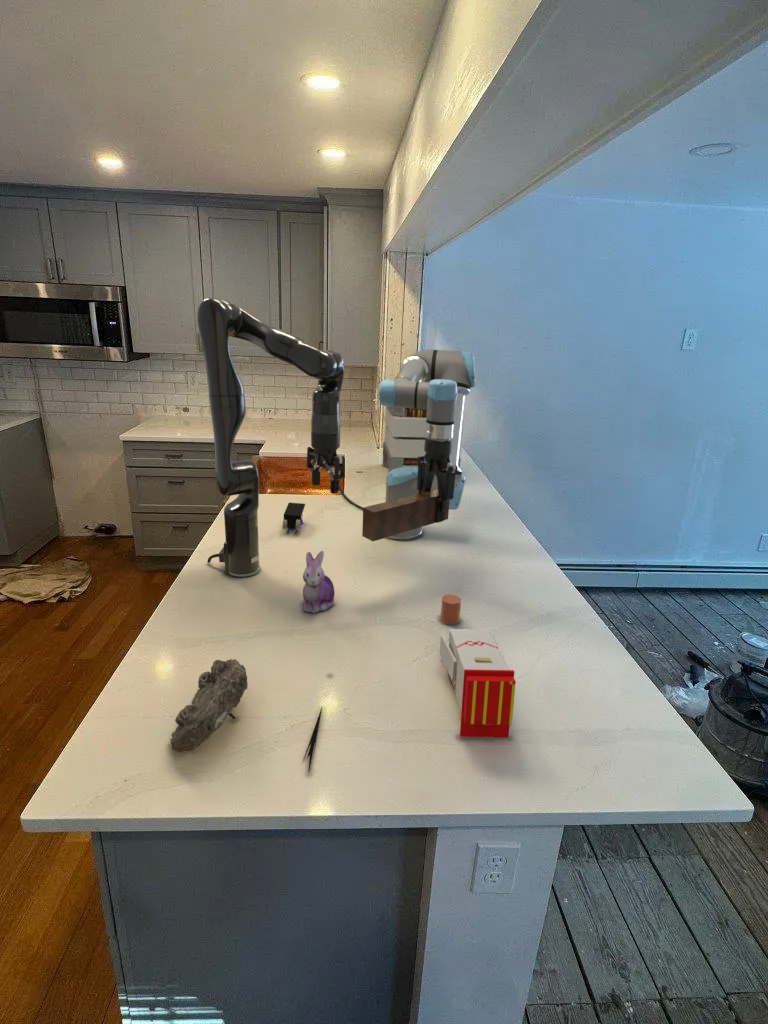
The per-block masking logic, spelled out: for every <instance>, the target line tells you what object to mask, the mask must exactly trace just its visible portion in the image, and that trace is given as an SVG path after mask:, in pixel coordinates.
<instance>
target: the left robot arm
mask: <svg viewBox="0 0 768 1024" xmlns="http://www.w3.org/2000/svg"><path fill="white" fill-rule="evenodd" d="M196 321H197V327H198V333H199V338H200V342H201V346H202V351H203V355H204V356H203V357H204V362H205V363H204V365H205V371H206V379H207V387H208V388H207V389H208V399H209V400H208V402H209V408H210V416H211V422H212V423H211V424H212V431H213V432H212V433H213V444H214V445H213V446H214V471H215V472H214V475H215V482H216V486H217V490H218V492H219V493H220V494H221V495H222V496H224V497H231V496H236V498H235V499H234V500H232V501H230V502H229V503H227V504H226V505H225V506H224V508H223V517H224V518H223V519H224V535H225V541H224V543H223V547H222V548H221V550H220V551H219V553H214V554H212V555H210V556H208V558H207V561H206V563H207V564H210V563H211V561H212V559H214V558H218V562H219V563H223V564H224V574H225V575H229V576H231V577H236V578H245V577H251V576H254V575H256V574H258V573H259V572H260V570H261V568H260V567H261V565H260V549H259V547H260V546H259V521H258V520H259V519H258V517H259V515H258V510H259V506H260V504H259V503H260V475H259V474H260V473H259V470H258V467H257V465H256V463H255V462H254V461H253V460H252V459H241V460H233V461H232V452H233V445H234V441H235V439H236V437H237V435H238V433H239V431H240V429H241V426H242V425H243V422H244V420H245V417H246V414H247V407H246V396H245V389H244V388H245V387H244V385H243V382H242V380H241V378H240V377H241V376H240V375H239V373H238V370H237V369H236V367H235V365H234V363H233V360H232V357H231V352H230V346H229V344H230V343H229V338H235V339H238V340H239V339H240V340H243V341H245V342H249V343H251V344H254V345H256V346H257V347H259V348H260V349H261V350H263V351H264V352H265V353H267V354H268V355H269V356H272V357H273V358H276V359H278V360H279V361H282V362H284V363H287V364H289V365H291V366H294V367H295V368H297V369H298V370H300V371H301V372H303V373H304V374H306V375H307V376H308V377H310V378H313V379H316V380H318V382H317V387H316V388H315V389H314V390H313V392H312V398H311V419H310V446H308V447H307V449H306V450H307V451H306V468H307V469H310V473H311V483H312V484H311V485H312V486H319V485H321V469H322V468H323V469H325V472H326V473H327V474H328V475H329V477H330V484H329V485H330V486H329V487H330V488H329V489H330V490H329V492H330V494H331V495H333V494H338V493H339V492H340V490H339V487H340V480H343V479H345V478H346V458H345V456H344V455H338V452H337V451H338V449H339V448H340V446H341V416H340V409H341V408H340V405H341V402H340V396H341V390H342V387H343V381H344V376H345V362H344V359H343V357H342V355H341V353H339V352H338V351H337V350H334V349H325V350H322V349H319V348H315V347H314V346H312V345H310V343H309V342H308V341H307V340H305V339H303V338H302V337H300V336H297V335H295V334H293V333H290V332H288V331H286V330H283V329H280V328H278V327H275V326H273V325H271V324H268V323H266V322H264V321H262V320H260V319H258V318H256V317H255V316H254V315H252V314H251V313H249V312H248V311H246V310H244V309H243V308H242V307H240V306H238V305H237V304H235V303H234V302H232V301H229V300H227V299H226V300H225V299H220V298H213V297H209V298H204V299H203V300H202V301H201V302H200V303H199V306H198V309H197V313H196Z"/></svg>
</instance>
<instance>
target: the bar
mask: <svg viewBox="0 0 768 1024" xmlns="http://www.w3.org/2000/svg"><path fill="white" fill-rule="evenodd" d="M437 499H439V494H438V489H436V490H432V491H428V492H424V493H420V494H416V495H412V496H408V497H404V498H400V499H396V500H392V501H388V502H386V501H384V502H380V503H376V504H372V505H367V506H362V507H363V510H362V530H361V534H362V535H361V537H363V538H366V539H367V540H369V541H371V542H375V541H381V540H383V539H385V538H387V537H390V536H393V535H396V534H400V533H403V532H406V531H410V530H413V529H417V528H420V527H422V528H423V527H427V526H430V525H433V524H437V523H436V522H435V515H436V502H437ZM449 501H450V500H447V504H446V511H444V521H447V520H449V512H450V510H449Z"/></svg>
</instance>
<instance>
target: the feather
mask: <svg viewBox="0 0 768 1024" xmlns="http://www.w3.org/2000/svg"><path fill="white" fill-rule="evenodd" d="M329 675H330V676H331V675H332V674H331V673H330V674H329ZM322 710H323V707H321V708H320V710H319V713H318V716H317V719H316V723H315V725H314V728H313V731H312V733H311V737H310V739H309V742H308V745H307V748H306V751H305V754H304V757H303V760H302V763H301V767H302V765H303V763H304V761H305V758H308V759H309V760H308V762H307V763H308V764H307V766H308V771H310V770H311V766H312V765H311V764H312V760H313V757H315V756H314V755H315V751H316V749H315V746H317V739H318V733H319V729H320V722H321V717H322V712H323V711H322ZM313 754H314V755H313ZM306 755H307V757H306Z"/></svg>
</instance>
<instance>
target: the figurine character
mask: <svg viewBox="0 0 768 1024" xmlns="http://www.w3.org/2000/svg"><path fill="white" fill-rule="evenodd" d="M305 507H306V503H301V502H288V504H287V506H286V507H285V510H284V513H283V520H282V530H284V531H285V530H286V534H287V535H288V534H290V531H293V532H294V534H295V535H296V534H298V530H299V531H300V530H301V528H302V526H303V525H304V524H305V523H304V520H303V519H304V515H303V513H304V510H305Z"/></svg>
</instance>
